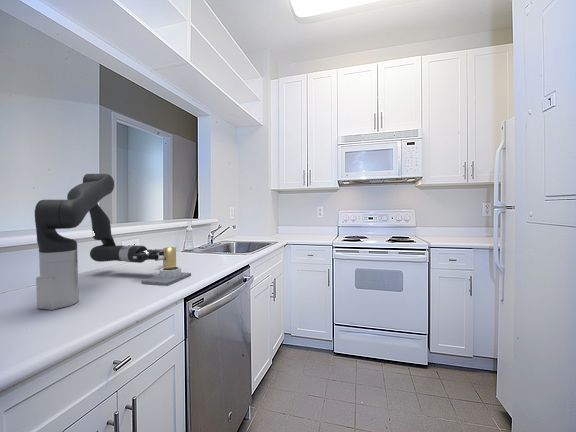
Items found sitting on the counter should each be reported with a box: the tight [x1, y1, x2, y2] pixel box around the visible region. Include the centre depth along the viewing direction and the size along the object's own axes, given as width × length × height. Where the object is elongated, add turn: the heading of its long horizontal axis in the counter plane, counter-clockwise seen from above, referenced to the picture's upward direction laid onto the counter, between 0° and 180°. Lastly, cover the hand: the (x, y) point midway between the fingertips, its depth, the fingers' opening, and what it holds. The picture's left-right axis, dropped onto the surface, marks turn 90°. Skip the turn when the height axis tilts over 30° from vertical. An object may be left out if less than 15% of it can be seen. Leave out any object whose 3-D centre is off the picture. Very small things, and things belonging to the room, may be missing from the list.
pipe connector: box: [154, 247, 165, 268], centre depth 136 cm, size 10×10×10 cm
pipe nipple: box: [163, 246, 177, 270], centre depth 116 cm, size 5×5×12 cm
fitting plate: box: [141, 266, 192, 287], centre depth 114 cm, size 16×12×4 cm
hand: (164, 255), depth 117 cm, fingers open, 8 cm apart
